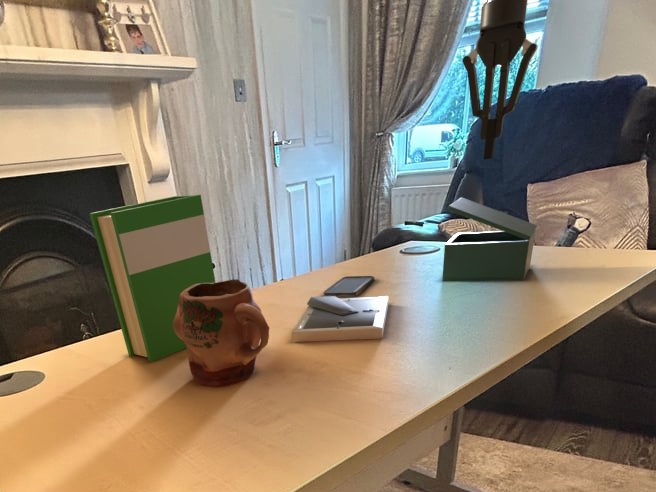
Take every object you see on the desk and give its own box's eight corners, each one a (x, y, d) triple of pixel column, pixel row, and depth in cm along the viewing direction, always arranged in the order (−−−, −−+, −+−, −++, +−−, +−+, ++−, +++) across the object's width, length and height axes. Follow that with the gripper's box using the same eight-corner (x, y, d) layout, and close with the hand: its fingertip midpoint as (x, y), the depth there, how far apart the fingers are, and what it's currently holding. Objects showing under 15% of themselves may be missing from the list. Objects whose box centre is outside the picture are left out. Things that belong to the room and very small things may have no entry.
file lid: (447, 209, 109) (449, 205, 109) (459, 201, 118) (461, 197, 117) (528, 240, 106) (530, 236, 105) (535, 229, 115) (537, 225, 114)
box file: (442, 282, 117) (444, 244, 113) (453, 269, 126) (456, 233, 122) (523, 282, 110) (529, 241, 106) (529, 268, 119) (535, 229, 115)
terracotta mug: (304, 375, 82) (296, 280, 74) (251, 405, 75) (236, 304, 67) (216, 357, 94) (201, 273, 86) (163, 382, 87) (142, 293, 79)
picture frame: (311, 310, 111) (293, 343, 95) (311, 296, 109) (291, 328, 93) (388, 306, 107) (382, 340, 91) (388, 291, 106) (382, 323, 89)
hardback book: (151, 363, 95) (113, 212, 81) (129, 357, 99) (89, 213, 86) (224, 334, 104) (200, 194, 91) (200, 330, 109) (174, 196, 95)
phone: (375, 275, 125) (355, 292, 114) (375, 280, 125) (355, 298, 115) (343, 276, 128) (321, 292, 117) (344, 281, 129) (321, 297, 118)
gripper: (462, 4, 93) (451, 163, 106) (543, -14, 87) (521, 156, 101) (470, 9, 98) (459, 160, 112) (547, -8, 93) (526, 153, 106)
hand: (488, 158), depth 106 cm, fingers closed
